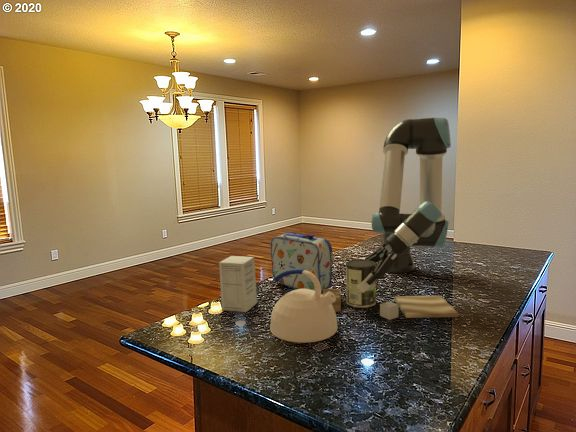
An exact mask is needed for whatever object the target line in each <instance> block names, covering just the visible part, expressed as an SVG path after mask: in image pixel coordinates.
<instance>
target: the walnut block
mask: <svg viewBox="0 0 576 432" xmlns="http://www.w3.org/2000/svg"><path fill="white" fill-rule="evenodd" d="M332 293H333V294H334V295H335V297H336V301H335V302H333V303H332V306H333V308H334V311H335V313H337V312H341V311H342V310H341V305H342V300H341V299H342V296H341V297H340V296H339V295H337V294H336V293H335V292H332ZM321 294H322V295H323V296H324V295H325V294H327V293H324V294H323V293H321Z"/></svg>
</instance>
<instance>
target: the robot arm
mask: <svg viewBox="0 0 576 432" xmlns="http://www.w3.org/2000/svg"><path fill="white" fill-rule="evenodd" d="M450 131H451V130H450V125H449V121H448V119H447V118H446V117H425V118H414V119H413V118H409V119H404V120H402V121H400V122H398V123H397V124H395V126H393V128H392V129H391V130H390V131H389V132H388V134H387V135H386V137H385V139H384V141H383V142H384V143H383V149H382V152H383V154H384V161H383V162H384V163H383V170H382V172H383V173H382V180H381V181H382V182H381V189H380V196H379V197H380V200H379V207H378V211H377V212H374V213H372V215H371V229H372V231H373V233H377V234H382V235H383V236H382V237H383V241H382V242H383V243H382V244H381V246H380V247H378V248H377V249H375V250H374V251H372V252H371V253H370V254H369V255H367V256H366V257H365V258H364V260H370V261H373V262H375V263H376V268H375V270H374V271H372V272H371V274H370V275H369V276H368V277H367V278H366V279H365V280H364V281H362V282H361V283H360V284H359V285H358V286H357V288H358V289H359V290H360V291H362V292H363V293H364V292H365V291H366V290H367V289H368V288H369V287H370V286H371V285H372V284H373V283H374V282H375V281H376V282H377V281H378V280H383V278H384V277H385V276H386V275H387V272H388V273H396V274H397V273H400V274H402V273H403V274H404V273H410V272H413V271H414V270H415V262H414V259H413V256H412V255H413V254H412V253H411V247H421V248H432V249H434V248H438V249H439V248H444V247H445V245H446V241H447V236H448V230H449V229H448V228H449V224H450V223H449V221H448V220H447V219H446V216H445V215H444V214H443V213H442V202H443V201H442V197H443V196H442V195H443V193H442V192H443V190H442V189H443V157H444V156H445V155H446V154H447V152H448V151H447V150H448V149H449V148H451V147H452V143H451V142H452V141H451V132H450ZM410 149H411V150H413V149H414V150H415V154H416V155H417V156H418V157H419V205H418V206H417V208H416V209H415V210H413V212H411V213H400V211H401V205H402V204H401V203H402V194H403V193H402V192H403V191H402V190H403V181H404V180H403V179H404V170H405V169H404V168H405V159H406V157H405V156H407V155H408V153H409V150H410Z"/></svg>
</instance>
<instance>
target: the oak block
mask: <svg viewBox="0 0 576 432" xmlns="http://www.w3.org/2000/svg"><path fill="white" fill-rule="evenodd" d="M327 292H335V293H336V294H337V295H339V296H340V297H341V298H342V295H341V294H342V293H341V289H340V288H328V289H323V290H322V294H324V293H327Z"/></svg>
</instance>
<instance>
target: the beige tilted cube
mask: <svg viewBox="0 0 576 432" xmlns="http://www.w3.org/2000/svg"><path fill="white" fill-rule="evenodd" d="M399 309H400V307H399V305H398V304H397V303H396V302H391V301H390V300H389V301H385V302H382V303H379V316H380V317H382V318H384V319H387V320H389V321H391V320H393V319H396V318H399Z"/></svg>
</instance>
